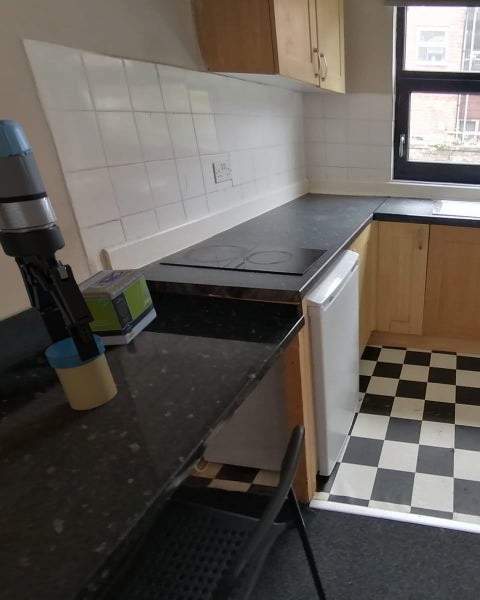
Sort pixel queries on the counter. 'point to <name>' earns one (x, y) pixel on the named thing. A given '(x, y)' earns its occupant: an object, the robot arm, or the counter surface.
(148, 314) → the tea box
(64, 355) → the jar lid
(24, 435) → the counter surface
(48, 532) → the counter surface
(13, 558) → the counter surface
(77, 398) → the jam jar
